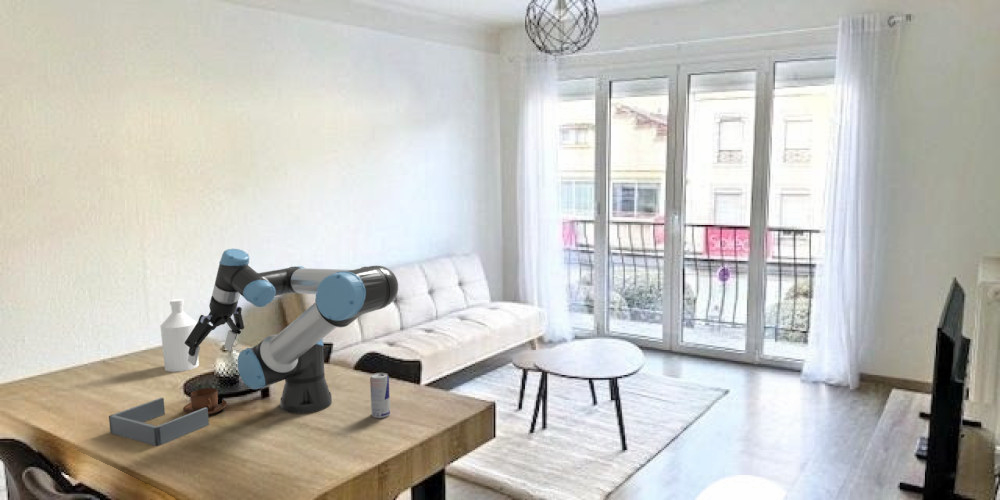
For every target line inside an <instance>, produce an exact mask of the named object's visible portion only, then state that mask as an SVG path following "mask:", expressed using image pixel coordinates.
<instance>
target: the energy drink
mask: <svg viewBox="0 0 1000 500" xmlns="http://www.w3.org/2000/svg"><path fill="white" fill-rule="evenodd" d="M369 383H370V403H371V404H370V407H371V409H370V410H371V416H372V417H373V418H375V419H384V418H388V417H389V416H390V415H391V401H390V399H391V398H390V397H391V396H390V377H389V374H388V373H385V372H376V373H372V374H371V375H370V377H369Z"/></svg>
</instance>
